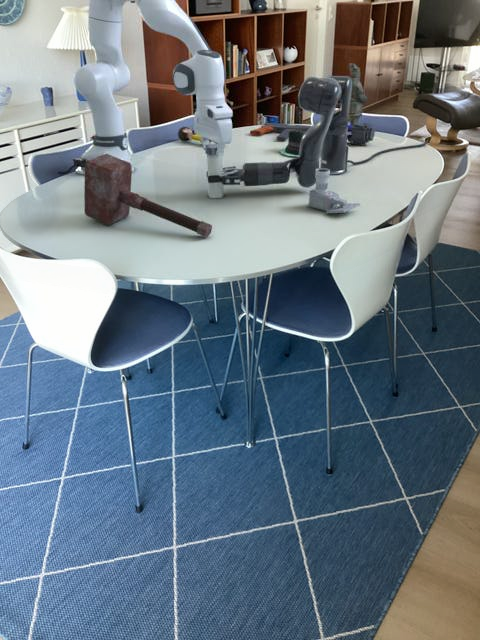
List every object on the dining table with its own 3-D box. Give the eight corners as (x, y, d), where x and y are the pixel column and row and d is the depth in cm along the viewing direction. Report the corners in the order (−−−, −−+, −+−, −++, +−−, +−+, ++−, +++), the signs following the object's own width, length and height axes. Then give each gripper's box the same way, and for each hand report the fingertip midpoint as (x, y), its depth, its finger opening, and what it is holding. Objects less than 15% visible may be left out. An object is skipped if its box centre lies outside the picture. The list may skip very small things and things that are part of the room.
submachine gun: (243, 132, 260) (267, 122, 278) (243, 138, 261) (267, 127, 280) (305, 138, 246) (326, 127, 265) (305, 144, 248) (326, 133, 266)
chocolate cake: (332, 145, 241) (326, 158, 224) (294, 164, 249) (286, 177, 233) (317, 113, 235) (310, 124, 219) (279, 133, 244) (269, 145, 228)
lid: (217, 150, 183) (216, 142, 182) (227, 153, 179) (226, 146, 178) (202, 152, 181) (201, 145, 179) (211, 156, 176) (211, 148, 175)
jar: (205, 196, 187) (203, 148, 179) (216, 192, 190) (214, 146, 182) (216, 199, 184) (214, 151, 176) (226, 195, 187) (225, 148, 179)
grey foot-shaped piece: (322, 165, 173) (363, 174, 165) (319, 201, 179) (359, 212, 171) (305, 171, 168) (347, 180, 159) (303, 208, 174) (344, 219, 165)
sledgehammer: (221, 197, 152) (105, 152, 164) (203, 207, 145) (83, 159, 156) (213, 251, 162) (103, 205, 174) (195, 264, 155) (82, 215, 166)
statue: (367, 132, 266) (374, 63, 251) (349, 133, 264) (355, 64, 249) (357, 127, 275) (362, 61, 260) (339, 129, 273) (344, 62, 258)
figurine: (211, 139, 238) (170, 125, 250) (210, 157, 242) (170, 142, 255) (230, 134, 247) (190, 120, 259) (229, 150, 251) (189, 136, 263)
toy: (345, 120, 249) (377, 123, 242) (343, 139, 253) (375, 143, 246) (337, 123, 243) (369, 127, 236) (336, 143, 247) (367, 147, 240)
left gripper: (188, 104, 179) (190, 148, 186) (216, 114, 163) (218, 161, 170) (205, 102, 182) (207, 145, 189) (235, 112, 166) (236, 158, 173)
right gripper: (254, 157, 189) (205, 160, 188) (261, 168, 177) (208, 171, 175) (255, 179, 193) (206, 181, 192) (261, 191, 181) (209, 194, 179)
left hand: (213, 153), depth 179 cm, fingers open, 8 cm apart
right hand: (207, 176), depth 184 cm, fingers closed on jar, 5 cm apart
